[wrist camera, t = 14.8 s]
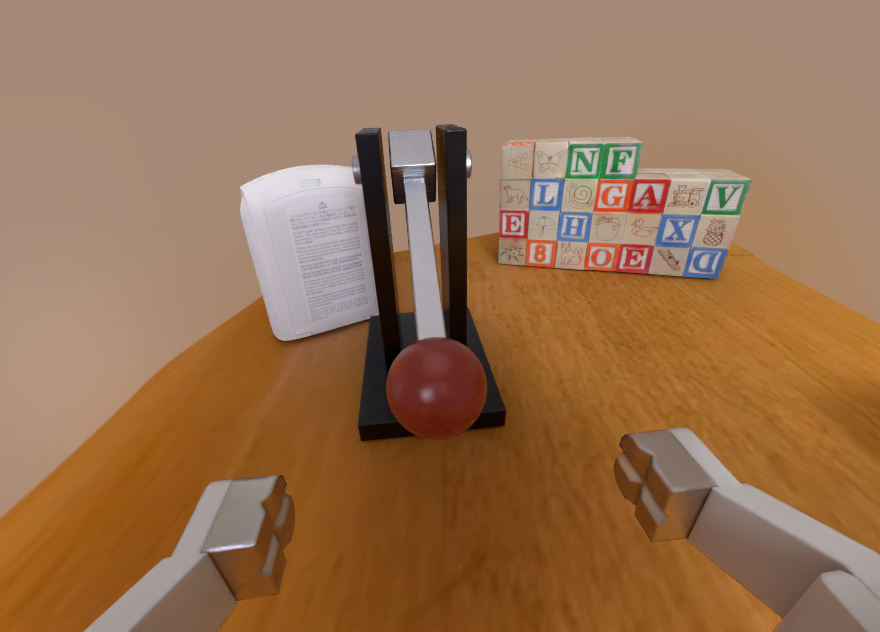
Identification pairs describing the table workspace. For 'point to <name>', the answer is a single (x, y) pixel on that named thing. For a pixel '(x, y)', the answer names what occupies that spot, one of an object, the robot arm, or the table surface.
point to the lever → (428, 312)
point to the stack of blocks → (613, 209)
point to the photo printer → (310, 248)
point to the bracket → (390, 325)
